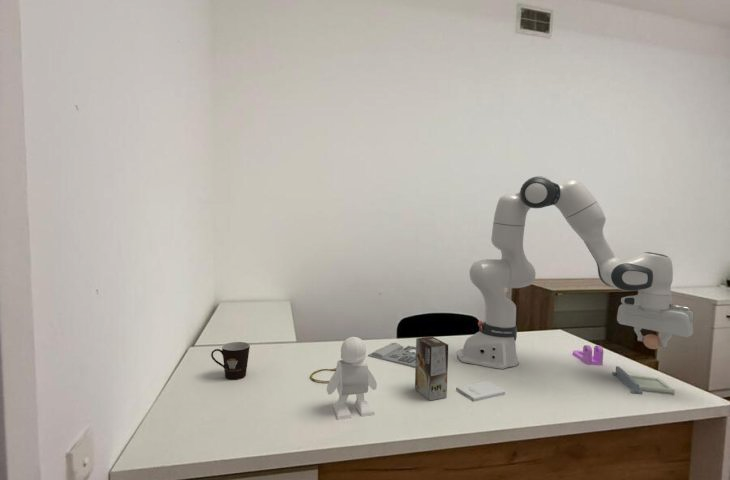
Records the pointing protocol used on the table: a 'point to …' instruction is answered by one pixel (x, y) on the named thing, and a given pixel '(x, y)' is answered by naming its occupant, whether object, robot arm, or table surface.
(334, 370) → the brown hoop
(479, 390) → the external hard drive
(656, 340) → the ball
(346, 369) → the toy robot
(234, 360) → the coffee mug
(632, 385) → the divider
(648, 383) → the tray
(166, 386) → the table surface
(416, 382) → the coffee box
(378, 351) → the office telephone
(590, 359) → the bracket
